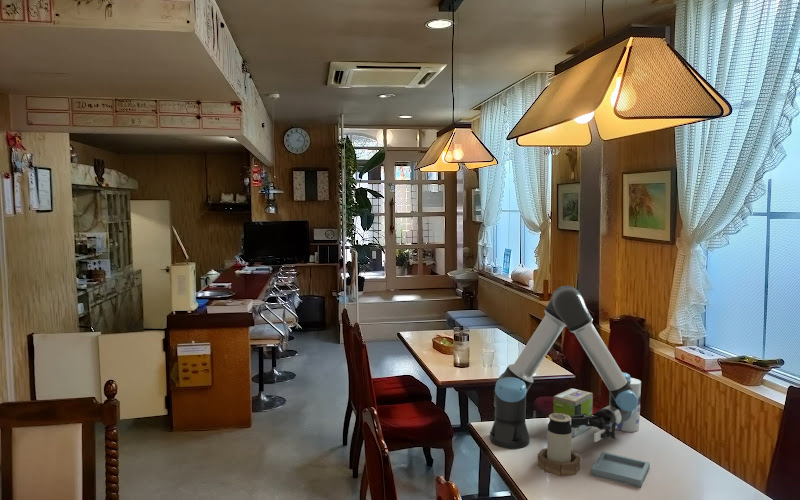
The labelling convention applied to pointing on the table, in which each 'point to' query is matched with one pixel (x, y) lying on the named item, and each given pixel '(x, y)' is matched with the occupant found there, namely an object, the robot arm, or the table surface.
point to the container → (633, 422)
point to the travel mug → (559, 438)
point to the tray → (620, 469)
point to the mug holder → (558, 464)
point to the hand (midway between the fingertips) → (577, 432)
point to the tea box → (574, 406)
